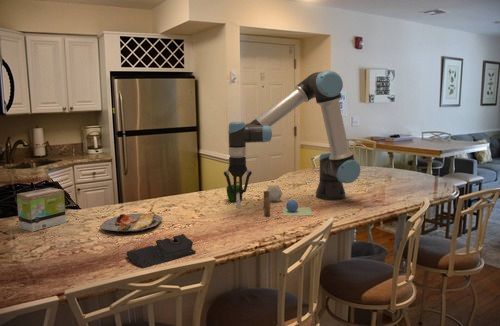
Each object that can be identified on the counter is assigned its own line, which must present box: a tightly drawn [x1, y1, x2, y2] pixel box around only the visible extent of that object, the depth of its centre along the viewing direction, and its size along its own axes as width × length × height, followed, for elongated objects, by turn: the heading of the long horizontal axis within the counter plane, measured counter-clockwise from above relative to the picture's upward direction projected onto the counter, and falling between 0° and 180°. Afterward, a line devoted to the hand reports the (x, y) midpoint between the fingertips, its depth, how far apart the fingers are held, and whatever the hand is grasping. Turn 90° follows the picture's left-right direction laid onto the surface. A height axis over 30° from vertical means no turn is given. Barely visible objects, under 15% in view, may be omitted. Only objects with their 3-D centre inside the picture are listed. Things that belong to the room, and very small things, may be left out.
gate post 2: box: [263, 197, 271, 218], centre depth 178 cm, size 3×3×8 cm
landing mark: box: [281, 206, 314, 217], centre depth 184 cm, size 13×13×1 cm
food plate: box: [99, 211, 163, 233], centre depth 167 cm, size 25×23×4 cm
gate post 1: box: [263, 190, 269, 199], centre depth 190 cm, size 3×3×8 cm
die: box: [266, 184, 283, 203], centre depth 204 cm, size 8×9×10 cm
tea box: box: [16, 187, 67, 233], centre depth 168 cm, size 15×10×15 cm, turn 148°
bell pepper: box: [225, 181, 244, 202], centre depth 205 cm, size 8×8×10 cm
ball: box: [285, 199, 299, 212], centre depth 184 cm, size 6×6×6 cm
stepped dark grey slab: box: [126, 233, 197, 269], centre depth 136 cm, size 15×22×5 cm
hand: (238, 207), depth 184 cm, fingers closed
